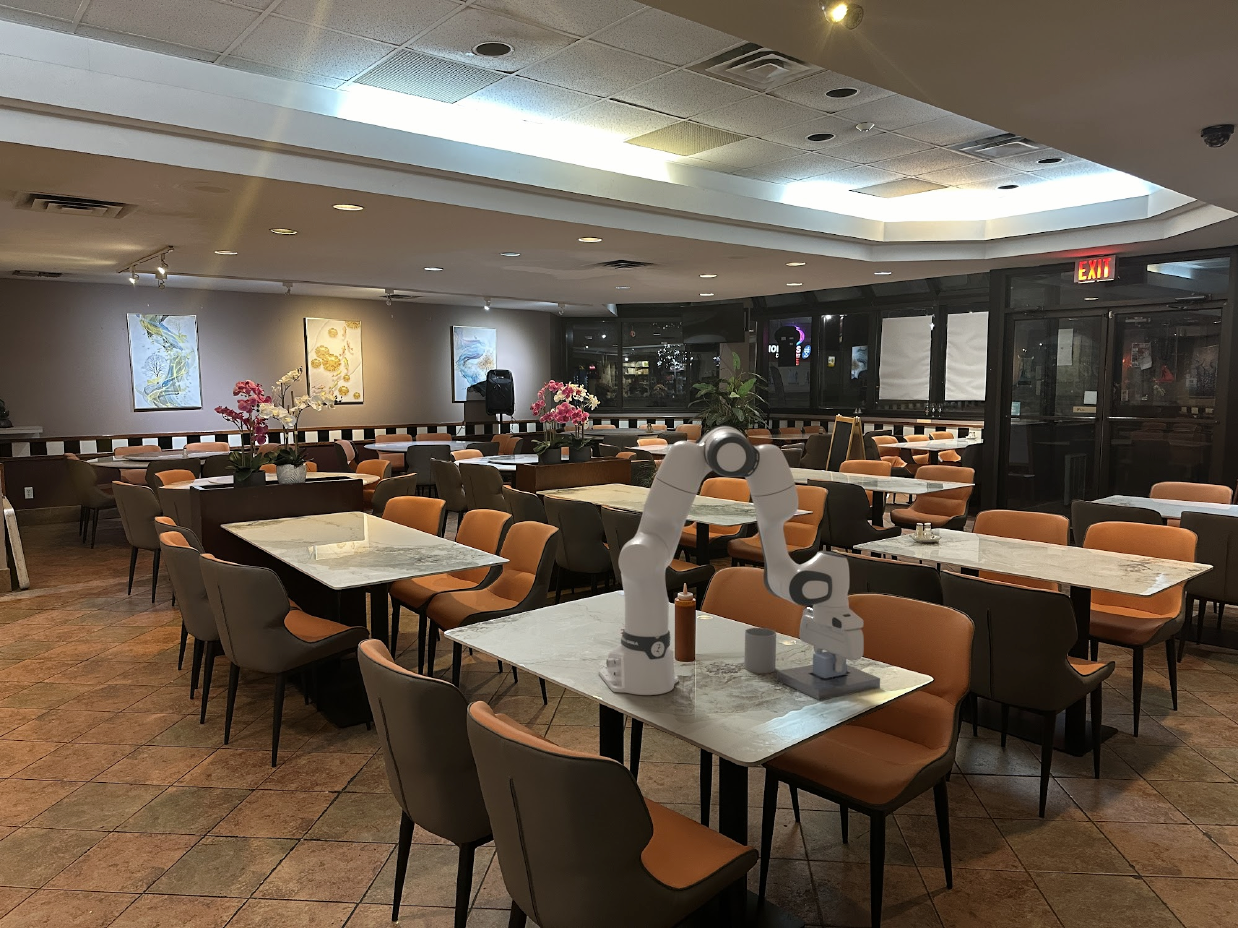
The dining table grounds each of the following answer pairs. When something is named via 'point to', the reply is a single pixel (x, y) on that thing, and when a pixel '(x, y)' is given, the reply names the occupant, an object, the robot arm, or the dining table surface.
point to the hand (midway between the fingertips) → (829, 667)
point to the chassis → (827, 682)
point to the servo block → (826, 665)
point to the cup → (760, 650)
